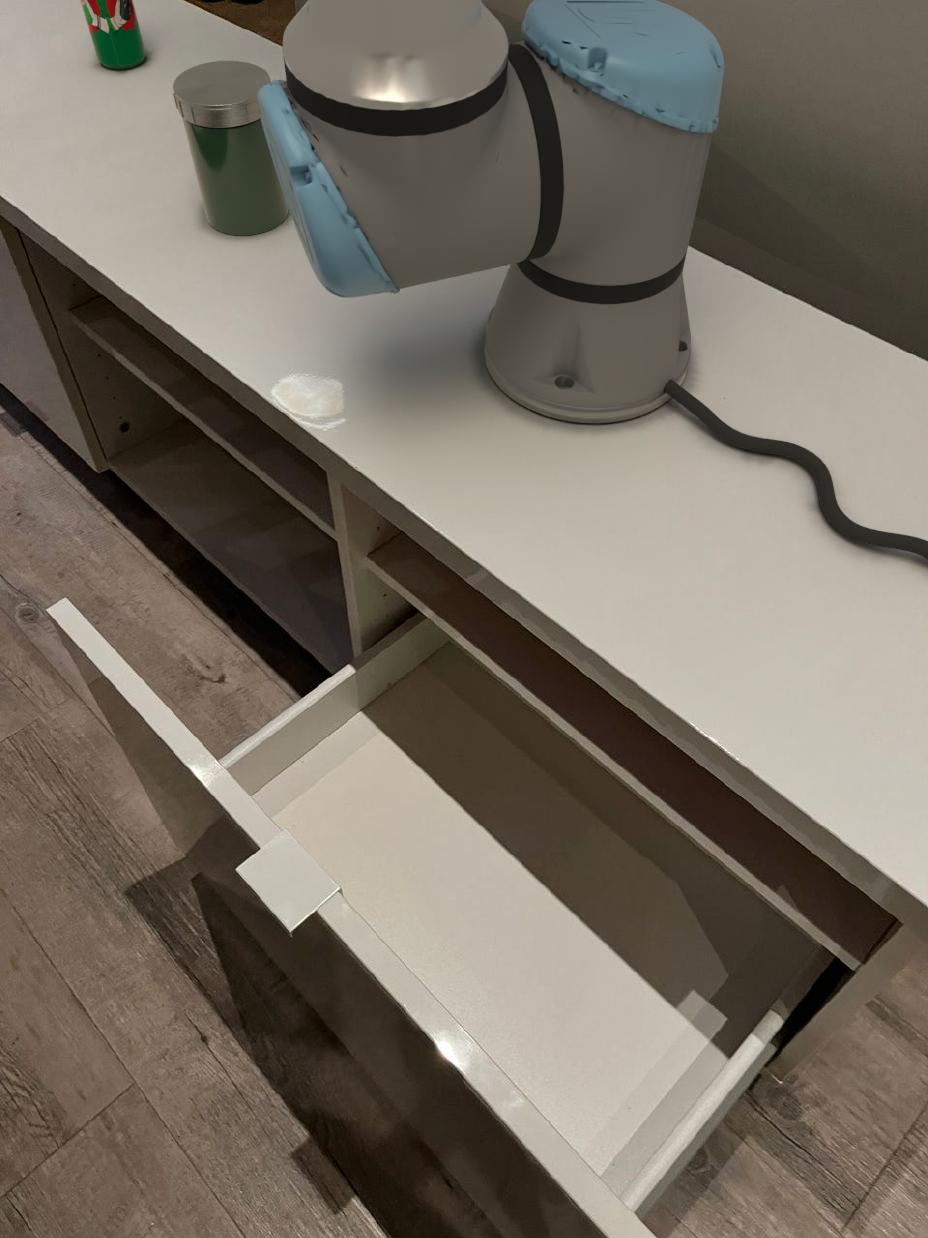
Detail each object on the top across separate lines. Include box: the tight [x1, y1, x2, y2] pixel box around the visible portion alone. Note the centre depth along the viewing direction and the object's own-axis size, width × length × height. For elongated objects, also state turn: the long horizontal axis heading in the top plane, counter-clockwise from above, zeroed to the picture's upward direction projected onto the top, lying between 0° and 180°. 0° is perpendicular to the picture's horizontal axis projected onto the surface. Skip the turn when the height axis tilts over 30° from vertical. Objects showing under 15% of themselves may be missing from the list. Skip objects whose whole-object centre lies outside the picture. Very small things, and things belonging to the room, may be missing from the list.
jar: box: [182, 118, 290, 237], centre depth 77 cm, size 7×7×10 cm
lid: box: [172, 60, 271, 128], centre depth 73 cm, size 8×8×2 cm
